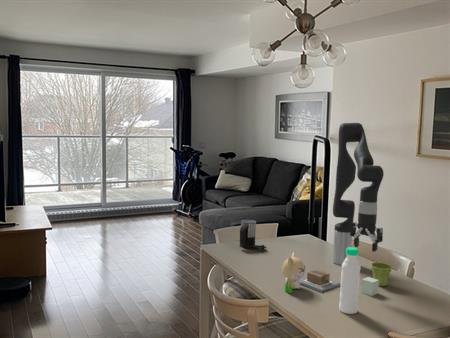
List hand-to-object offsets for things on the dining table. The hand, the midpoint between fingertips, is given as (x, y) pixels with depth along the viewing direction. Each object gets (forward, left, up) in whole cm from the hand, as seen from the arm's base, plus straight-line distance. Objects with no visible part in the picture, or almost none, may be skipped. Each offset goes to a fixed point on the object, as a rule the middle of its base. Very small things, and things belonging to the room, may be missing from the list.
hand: (365, 249), depth 193 cm
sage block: (-2, +2, -19) cm, 20 cm away
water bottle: (+22, +7, -19) cm, 30 cm away
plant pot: (-16, -1, -19) cm, 25 cm away
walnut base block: (+8, -18, -18) cm, 26 cm away
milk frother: (-9, -76, -20) cm, 79 cm away
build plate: (+8, -18, -19) cm, 27 cm away
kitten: (+21, -22, -19) cm, 36 cm away
